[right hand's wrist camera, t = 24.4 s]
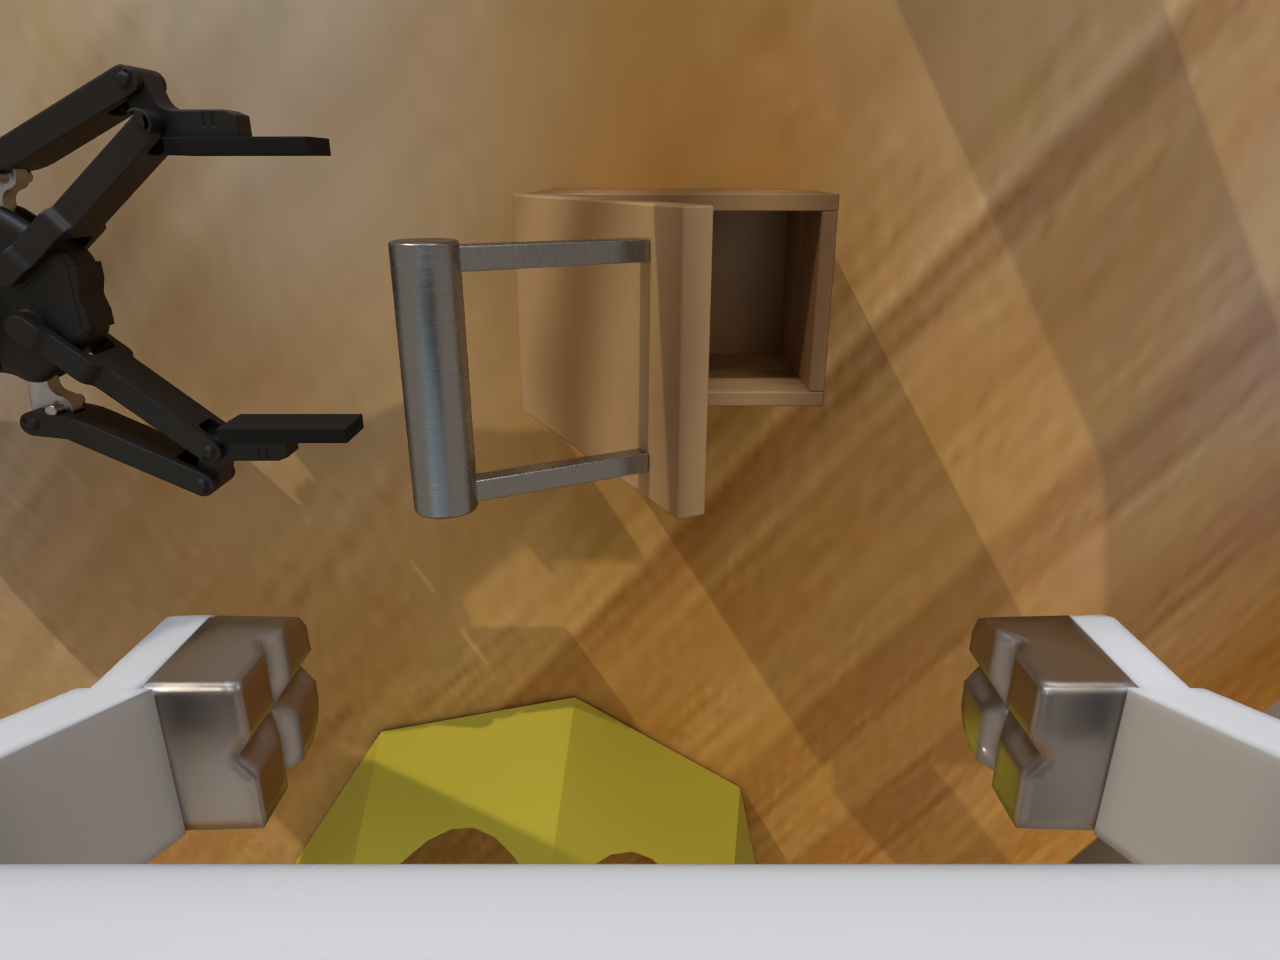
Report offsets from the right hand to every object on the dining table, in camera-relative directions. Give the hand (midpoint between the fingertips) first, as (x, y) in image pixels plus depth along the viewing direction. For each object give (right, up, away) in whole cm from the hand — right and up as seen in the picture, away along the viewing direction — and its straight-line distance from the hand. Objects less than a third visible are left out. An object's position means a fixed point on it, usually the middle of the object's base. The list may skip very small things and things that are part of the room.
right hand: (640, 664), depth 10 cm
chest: (+2, +14, +37) cm, 40 cm away
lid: (-1, +8, +22) cm, 23 cm away
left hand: (-15, +11, +31) cm, 36 cm away
